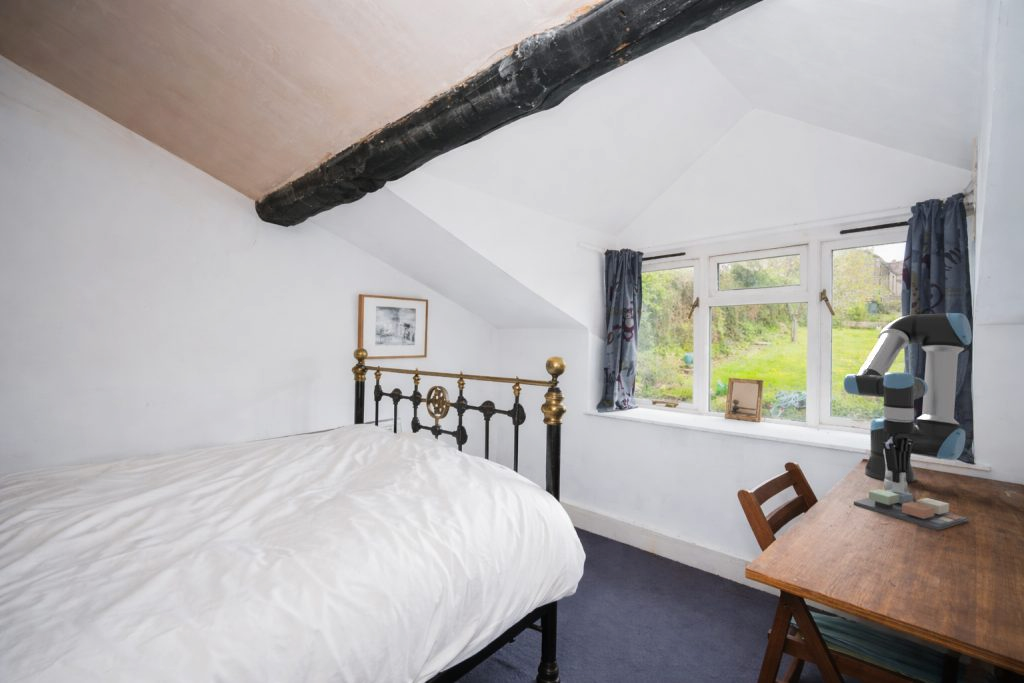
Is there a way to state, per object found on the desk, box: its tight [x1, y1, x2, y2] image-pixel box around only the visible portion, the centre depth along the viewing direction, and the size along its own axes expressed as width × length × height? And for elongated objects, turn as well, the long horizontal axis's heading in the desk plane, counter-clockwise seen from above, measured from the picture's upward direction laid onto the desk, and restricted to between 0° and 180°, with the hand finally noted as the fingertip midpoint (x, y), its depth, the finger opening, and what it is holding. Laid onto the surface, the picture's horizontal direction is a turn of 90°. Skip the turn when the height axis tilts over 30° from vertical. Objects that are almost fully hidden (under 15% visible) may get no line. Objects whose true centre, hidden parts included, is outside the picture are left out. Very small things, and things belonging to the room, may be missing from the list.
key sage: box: [868, 488, 899, 505], centre depth 145 cm, size 6×6×2 cm
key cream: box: [916, 497, 950, 514], centre depth 139 cm, size 6×6×2 cm
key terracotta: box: [902, 500, 934, 519], centre depth 136 cm, size 6×6×2 cm
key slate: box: [885, 489, 914, 504], centre depth 148 cm, size 6×6×2 cm
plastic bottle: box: [882, 449, 909, 493], centre depth 159 cm, size 6×7×20 cm
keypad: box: [853, 497, 968, 531], centre depth 142 cm, size 16×22×3 cm
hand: (898, 491), depth 148 cm, fingers closed
